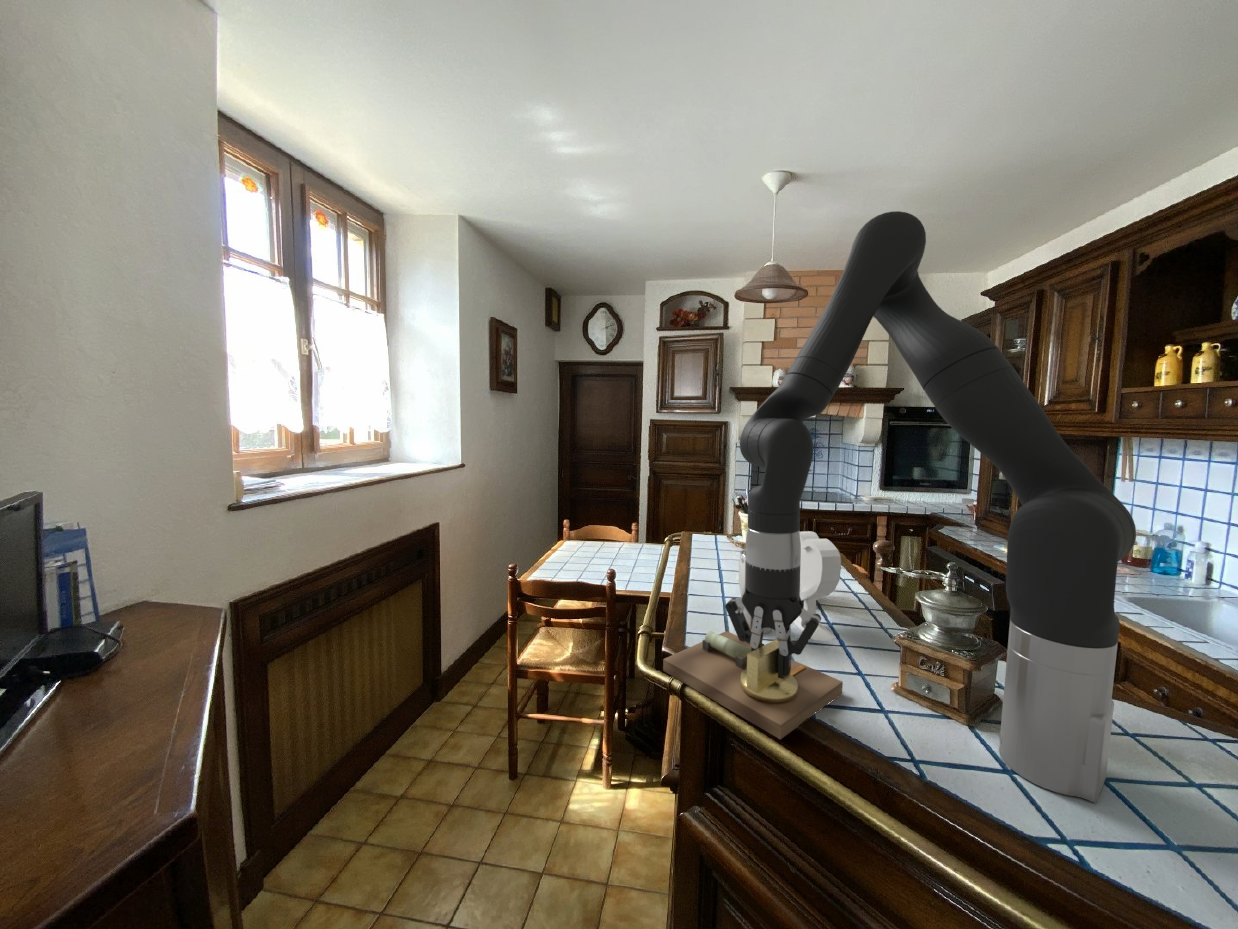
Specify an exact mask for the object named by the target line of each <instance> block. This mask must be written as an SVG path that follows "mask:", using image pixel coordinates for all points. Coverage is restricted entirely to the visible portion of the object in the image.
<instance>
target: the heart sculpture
mask: <svg viewBox="0 0 1238 929" xmlns="http://www.w3.org/2000/svg"><path fill="white" fill-rule="evenodd" d="M800 541H801V566H800V600H801V602H802V601H803V609H805V610H807V611H808V612H810V613H811V614H817V601H819V600H821V599H822V598H826V597H828V596H829V595H830V594H832V593H833V592H834V591H835V590H836V589H837V586H838V584H839V583H840V580H841V579H840V577H841V570H842V559H841V558H842V556H841V553H840V552H839V550H838V549H837V547H836V546H835V544H834V543H833V542H832V541H831V540H829V539H828V538H820V537H819V536H818V534H817V533H816V532H814V531H809V530H807V531H806V530H805V531H800ZM801 622H802V619H801V617H800V616H798V617H797V619H796V620H795V621H794V622H793V623H794V624H795V626H796V627H798V628H799V629H800V630H801V631H802V632H803V630H804V628H803V627H802V625H801ZM835 639H837V637H836V636H835V635H834V634H833V633H832V632H830V631H829V629H827V628H826V627H825V626H824V625H823V624H822V623H821V622H820V623H819V625H818V627H817V629H816V630H815V632H814V633H813V635H812V637H811V638H810V640H813V641H821V642H828V641H832V640H835Z"/></svg>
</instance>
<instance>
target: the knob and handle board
mask: <svg viewBox="0 0 1238 929" xmlns="http://www.w3.org/2000/svg"><path fill="white" fill-rule="evenodd" d="M750 652H751V646H750V644H749V643H747V642H745V641H744V642H742V641H740V640H739V638H738V636H737V634H735V633H733V632H729V631H728V630H726V631H722V633H717V632H715V631H713V630H709V631H708V632H706V634H705V636H704V639H703V640H702V641H701V642H699V643H696V644H693V645H692V646H690V647H687V648H685V649H683V650H680V651H678V652H676V653H674V654H672V655H670V656H668V657H665V658H663V659H662V660H663V661H662V662H663V663H662V664H663V666H662V669H663V672H665V673H666V674H668V675H669V676H671V677H673V678H675V679H677V680H678V681H680V682H682V683H683V684H685V685H687V686H689V687H690V688H692V689H694V690H695V691H697V692H699V693H701V695H702V694H703V695H704V696H706V697H707V698H709V699H710V700H712V701H714V702H715V703H717V704H719V705H720V706H722V707H724V708H726V709H728V710H729V711H730V712H733V713H735V714H736V715H738V716H739V717H741V718H742V719H745V720H746V721H748V722H750V723H751V724H753V725H755V726H756V727H759V728H760V729H762V730H763V731H765V732H767V733H768V734H770V735H771V736H774V737H775V738H777V740H782V739H783V738H784V737H786V736H788V735H789V734H790V733H791V732H793V731H794V730H795V729H797V728H798V727H800V726H801V725H802V724H803V723H802V722H803V721H804V720H805V719H806V718H809V717H810V716H811V715H813V714H814V713H815V712H817V711H819V710H820V709H821V708H823V707H824V706H825V705H827V704H828V703H829V702H831V701H832V700H834V699H835V700H837V699H838V698H839V697H841V696H842V695H843V681H842V680H840V679H837V678H836V677H833V676H831V675H828V674H826V673H824V672H822V671H819V670H816V669H814V668H812V667H810V666H808V665H805V664H803V663H801V662H799V661H796V660H793V659H792V658H791V672H790V674H791V675H792V676H793V677H794V678H795V679H796V681H797V683H798V692H797V695H796V697H795V698H793V699H792V700H790V701H787V702H781V703H772V702H765V701H761V700H758V699H756V698H754V697H752V696H750V695H748V694H747V693H746V692H745V691H744V690H743V689H742V687H741V683H740V682H741V673H742V672H743V671H744V670H745V669H747V654H748V653H750ZM841 694H842V695H841ZM840 695H841V696H840ZM838 696H839V697H838ZM837 697H838V698H837ZM835 700H834V701H835ZM832 702H833V701H832ZM832 702H831V703H832ZM828 705H829V704H828ZM828 705H827V706H828ZM824 708H825V707H824ZM824 708H823V709H824ZM821 710H822V709H821ZM821 710H820V711H821ZM820 711H819V712H820ZM817 713H818V712H817ZM813 716H814V715H813ZM809 719H810V718H809ZM801 723H802V724H801ZM800 724H801V725H800ZM799 725H800V726H799Z"/></svg>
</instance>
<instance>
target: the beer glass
mask: <svg viewBox="0 0 1238 929" xmlns="http://www.w3.org/2000/svg"><path fill="white" fill-rule="evenodd" d="M738 584H739V586H738V587H739V591H740V596H741V597H740V598H742V596H743V594H744V592H745V548H743V549H741V550H740V552H739V563H738ZM743 613H744V616H745V618H746V620H747V623H748V625H749V627H750V630H751V631H752V625H753V619H752V617H751V616H750V614H749V613H748V611H747V609H746V608H745V606H744V611H743ZM772 630H773V629H771V628H765V630H764V635H765V634H769V633H771V632H772Z"/></svg>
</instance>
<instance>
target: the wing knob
mask: <svg viewBox="0 0 1238 929" xmlns="http://www.w3.org/2000/svg"><path fill="white" fill-rule="evenodd" d="M779 653H780V651H779V644H778V640H777V638H775V639H774V640H772V641H770V642H768V643H766V644H764V646H762V647H760V648H758V649H756V650H754V651H752V652H750V653H748V654H747V669H745V670H744V671H743V672H742V673H741V682H740V683H741V687H742V689H743V690H744V691H745V692H746V693H747V694H748V695H750V696H752V697H754V698H756V699H758V700H761V701H765V702H772V703H781V702H787V701H790V700H792V699H793V698H795V697H796V695H797V692H798V683H797V681H796V679H795V678H794V677H793V676H792V675H791V674H790V672H791V670H790V672H789V673H788V675H787V676H785V677H784V679H780V678H778V654H779Z"/></svg>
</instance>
